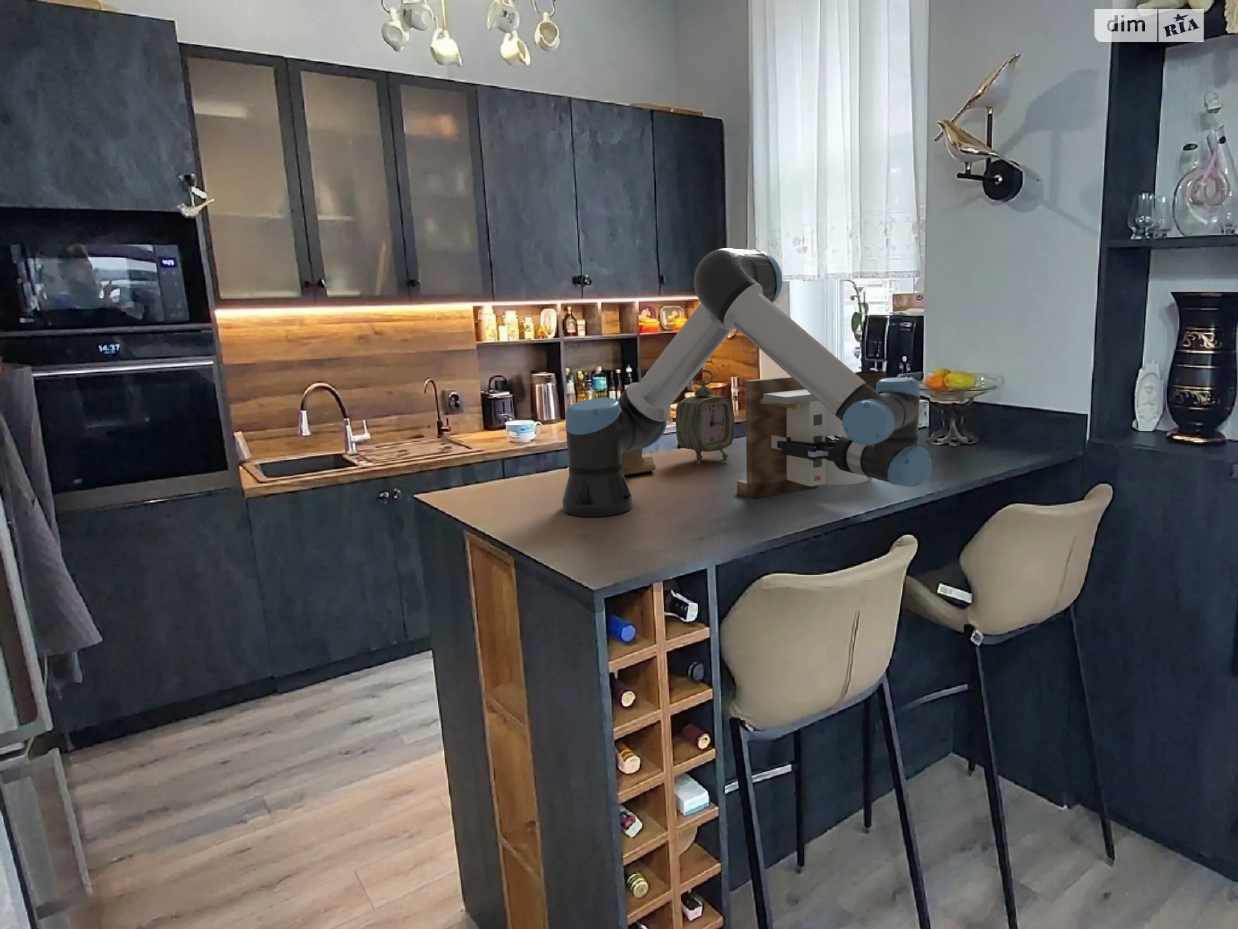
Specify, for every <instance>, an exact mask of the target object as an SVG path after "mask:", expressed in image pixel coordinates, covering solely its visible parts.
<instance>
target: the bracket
mask: <svg viewBox="0 0 1238 929" xmlns="http://www.w3.org/2000/svg"><path fill="white" fill-rule="evenodd" d="M803 389H805V388H804V387H803V386H801V385H800V384H799V383H798V382H797V381H796V380H795V379H793V378H792V377H791V376H790V375H789V376H779V377H770V378H769V377H767V378H759V379H748V380H745V428H746V429H745V434H746V435H745V436H746V438H745V439H746V441H745V442H746V444H745V445H746V446H745V447H746V448H745V449H746V451H745V455H746V457H745V458H746V459H745V460H746V478H745V479H739V480H736V494H737V495H740V496H743V497H746V498H747V499H748V498H749V499H753V500H754V499H758V498H759V499H760V498H764V497H771V496H776V495H777V496H778V495H783V494H789V493H795V492H800V491H806V490H812V489H818V488H819V487H818V486H819V485H816V486H806V485H803V484H800V483H796V482H793V481H790V480H787V455H783V454H781V450H779V449H775V448H771V435H776V436H780V437H785V438H786V437H787V408H792V409H799V408H801V403H794V404H780V403H774V402H768V401H763V394H765V393H775V392H784V391H794V390H803Z"/></svg>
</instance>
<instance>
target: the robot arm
mask: <svg viewBox="0 0 1238 929" xmlns="http://www.w3.org/2000/svg"><path fill="white" fill-rule="evenodd" d="M693 277H694V278H693V287H694V291H695V295H696V296H697V298H698V300H699V302H700V303H699V304H698V305H697V307H696V308H695V310H693V312H692V314H691V315H690V316H689V317H688V319H687V320H686V321H685V323H684V324H683V325H682V327H680V329H679V331H678V332H677V333H676V334H675V336H674V337H673V338H672V339H671V341H670V342H669V344H668V345H667V346H666V347H665V349H664V350H663V351H662V352H661V353H660V355H659V356H658V358H657V359H656V360H655V362H654V363H653V364H652V365H651V367H650V368H649V369H648V370H647V372H646V374H645V375H644V376H643V377H642V378H641V380H640V381H639V382H631V383H630V384H628V385H627V387H626V388H625V389H624V391H623V392H622V393H621V394H620V395H619V397H618V399H615V398H613V397H594V398H590V399H584V400H580V401H578V402H574V403H573V404H571V405H570V406H569V407H568V408H567V410H566V412H565V433H566V443H567V444H566V445H567V448H566V449H567V463H568V478H567V482H566V486H565V490H564V494H563V496H562V497H563V498H562V511H563V512H564V513H565V514H568V515H570V516H576V517H581V518H582V517H584V518H590V517H591V518H593V517H594V518H596V517H597V518H598V517H609V516H615V515H619V514H623V513H627V512H628V511H630V510H631V509H632V508H633V498H632V493H631V491H630V488H629V486H628V483H627V481H626V477H625V475H624V474H623V468H622V454H623V453H626V452H630V451H633V450H636V449H642V448H643V449H645V448H648V447H650V446H652V445H653V444H655V443H656V442H658V441H659V440H660V439H661V438H662V437H663V435H664V434H665V431H666V429H667V426H668V425H667V421H668V420H669V418H670V416H671V414H672V412H671V408H670V407H671V405H673V403H674V402H675V401H676V400H677V398H679V396H680V395H681V393H683V391H684V390H685V388H686V387H687V386H688V385H689V383H690V382H691V381H692V380H694V376H695V375H696V374H697V372H698V371H700V370H702V368H703V366H704V365H705V364H706V363H707V362H708V360H709V359H710V358H711V357H712V356H713V354H715V352H716V351H717V349H718V348H719V347H720V345H722V343H723V342H724V341H725V339H727V337H728V336H729V335H730V333H731V332H732V331H733V330H735V329H736V330H738V331H739V332H740V333H741V334H742V335H743V336H744V337H746V338H747V339H748V340H749V341H750V342H752V343H753V344H754V345H755V346H756V347H757V348H758V349H759V350H761V351H762V352H763V353H764V354H765V355H766V356H767V357H768V358H769V359H771V360H772V361H773V362H774V363H775V364H776V365H778V366H779V367H780V368H781V369H782V370H783V371H785V372H786V373H787V374H788V375H789V376H791V377H792V378H793V379H795V380H796V381H797V382H798V383H799V384H800V385H801V386H803V387H804V388H805V389H806V390H807V391H808V392H809V393H810V394H812V395H813V396H814V397H815V398H816V399H817V400H818V401H820V402H821V403H822V404H823V405H824V406H825V407H826V408H828V409H829V410H830V411H831V412H832V413H833V414H834V415H835V416H837V417H838V418H839V419H840V420H841V421H842V424H843V429H844V431H845V433H846V435H844V436H842V435H838V434H836V435H834V437H833V436H831V435H826V437H825V441H818V442H815V443H811V442H800V441H792V439H791V437H786V438H785V437H780V436H776V435H771V448H775V449H779V450H781V454H783V455H789V456H795V457H800V458H806V459H809V460H812V461H816V458H819V459H826V460H828V461H833V462H834V463H835V465H836V466H837V467H838V468H839V469H840V470H842V471H846V472H850V473H855V474H859V475H863V476H867V479H869V480H868V481H870V480H872V479H875V480H879V481H883V482H886V483H889V484H892V485H895V486H902V487H908V488H909V487H910V488H915V487H918V486H920V485H922V484H923V483H924V482H925V481H926V480H927V479H928V477H929V475H930V473H931V471H932V466H933V465H932V462H933V461H932V459H931V457H930V454H929V452H928V450H927V449H925V448H923V447H921V446H920V445H919V425H920V424H919V421H920V420H919V418H920V401H921V394H920V383H919V381H918V380H917V379H915V378H911V377H887V378H884V379H880V380H879V381H878V382H877V384H876V391H875V390H874V389H873V388H871V387H870V386H869V385H868V384H866V382H865V381H863V380H862V379H861V378H860V377H859V376H858V375H856V374H855V372H854V371H853V370H852V369H851V368H849V367H848V366H847V365H846V364H845V363H844V362H842V361H841V360H840V359H839V358H838V357H837V356H835V355H834V354H833V353H832V352H831V351H829V350H828V349H827V348H826V347H825V346H824V345H823V344H822V343H821V342H820V341H818V340H816V338H814V337H813V336H812V335H810V334H809V333H808V332H807V331H806V330H805V329H804V328H802V327H801V326H800V325H799V324H798V323H797V322H796V321H795V320H794V319H792V318H791V317H789V315H787V314H786V313H785V312H784V311H783V310H782V309H780V308H779V307H778V306H776V305H775V302H776V300H777V299H778V297H779V296H780V293H781V291H782V287H783V274H782V269H781V267H780V265H779V263H778V262H777V260H776V259H775V258H774V257H773V255H770V254H769V253H767V252H765V251H761V250H759V249H756V248H755V249H754V248H747V249H738V248H729V247H727V248H726V247H725V248H719V249H716V250H715V249H714V250H712V251H711V252H709V253H708V254H706V255H705V256H704V257H703V258H702V259H700V262H699V263H698V265H697V267H696V269H695V272H694V275H693ZM821 445H822V446H821ZM643 449H642V450H643Z"/></svg>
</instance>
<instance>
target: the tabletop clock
mask: <svg viewBox="0 0 1238 929" xmlns="http://www.w3.org/2000/svg"><path fill="white" fill-rule="evenodd" d="M702 373H708V374H709V375H710V377H711V378H710V380H709V381H706V380H705V379H702V380H701V382H698V381H697V380H696V379H697V377H698V375H699V374H702ZM713 380H714V376H713V372H712V371H711V370H709V369H700V370H699V371H698V372H697V374H696V375H695V376H694V377H693V381H694V383H695V384H696V385H697V386H699V387H697V389H696V390H695V392H694V396H693V395H692V396H690V397H689V396H688V397H686V398H683V399H682V400H680V401H679V402H678V403H677V404H676V408H675V434H676V440H677V443H678V444H679V446H680V448H682V449H685V450H691V451H694V452H695V454H696V455H695V456H696V459H695V460H694V464H695V465H696V466H699V465H700V464H701V463H702V461H701V460H702V459H703V455H702V452H704V453H706V452H710V453H711V452H717V451H719V452H720V453H721V454H722V458H723V459H725V460H726V459H728V458H729V454H728V453H727V452H725V451H724V450H723V449H727V448H728V447H729V446H730V445H733V441H734V435H735V410H734V404H733V401H732V398H730V397H728V396H720V395H714V391H713V389H712V388H710V387H709V386H708V385H709V384H711V383H712V382H713Z"/></svg>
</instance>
